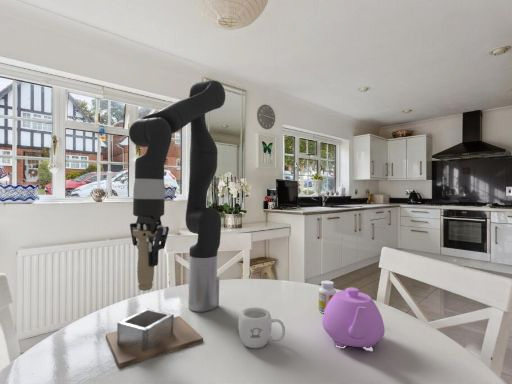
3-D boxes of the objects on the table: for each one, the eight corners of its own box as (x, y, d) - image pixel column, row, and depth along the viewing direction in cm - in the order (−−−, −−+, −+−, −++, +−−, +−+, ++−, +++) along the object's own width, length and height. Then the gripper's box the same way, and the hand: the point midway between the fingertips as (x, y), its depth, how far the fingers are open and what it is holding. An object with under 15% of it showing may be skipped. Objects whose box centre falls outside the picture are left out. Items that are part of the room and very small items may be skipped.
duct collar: (147, 326, 81) (147, 308, 81) (173, 333, 78) (173, 314, 78) (117, 343, 72) (117, 322, 72) (144, 351, 69) (145, 330, 69)
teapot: (398, 371, 65) (399, 308, 65) (325, 363, 67) (326, 303, 67) (373, 326, 86) (374, 279, 86) (319, 321, 89) (320, 276, 89)
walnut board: (179, 319, 88) (179, 315, 88) (203, 341, 76) (203, 337, 76) (105, 337, 77) (105, 333, 77) (118, 368, 64) (118, 363, 64)
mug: (236, 351, 71) (236, 318, 71) (239, 334, 80) (240, 305, 80) (285, 353, 71) (286, 321, 71) (284, 336, 79) (284, 307, 79)
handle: (157, 291, 73) (158, 231, 73) (129, 293, 72) (130, 231, 72) (160, 285, 77) (161, 228, 77) (134, 286, 76) (135, 228, 76)
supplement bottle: (335, 309, 98) (336, 280, 98) (335, 316, 93) (336, 285, 93) (318, 307, 100) (319, 279, 100) (318, 314, 94) (318, 283, 94)
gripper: (179, 198, 74) (177, 266, 74) (146, 196, 82) (144, 257, 82) (153, 198, 68) (151, 272, 68) (120, 196, 76) (118, 262, 76)
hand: (147, 264), depth 75 cm, fingers closed on handle, 4 cm apart
